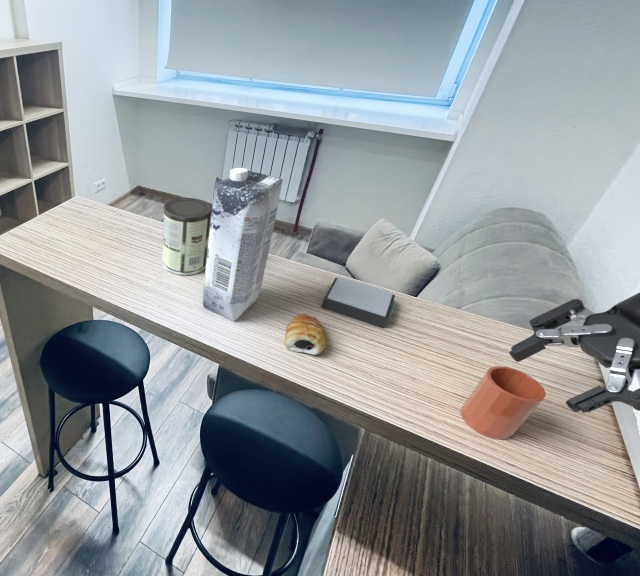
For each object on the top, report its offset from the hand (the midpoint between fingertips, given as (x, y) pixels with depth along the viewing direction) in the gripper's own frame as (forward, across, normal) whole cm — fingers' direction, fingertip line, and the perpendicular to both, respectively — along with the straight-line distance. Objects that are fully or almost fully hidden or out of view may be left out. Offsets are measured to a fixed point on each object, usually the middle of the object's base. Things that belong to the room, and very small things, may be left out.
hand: (539, 380), depth 53 cm
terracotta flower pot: (+8, 0, +4) cm, 9 cm away
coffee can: (+34, -46, -22) cm, 61 cm away
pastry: (+22, -18, -10) cm, 30 cm away
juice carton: (+29, -30, -17) cm, 45 cm away
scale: (+11, -27, 0) cm, 30 cm away
